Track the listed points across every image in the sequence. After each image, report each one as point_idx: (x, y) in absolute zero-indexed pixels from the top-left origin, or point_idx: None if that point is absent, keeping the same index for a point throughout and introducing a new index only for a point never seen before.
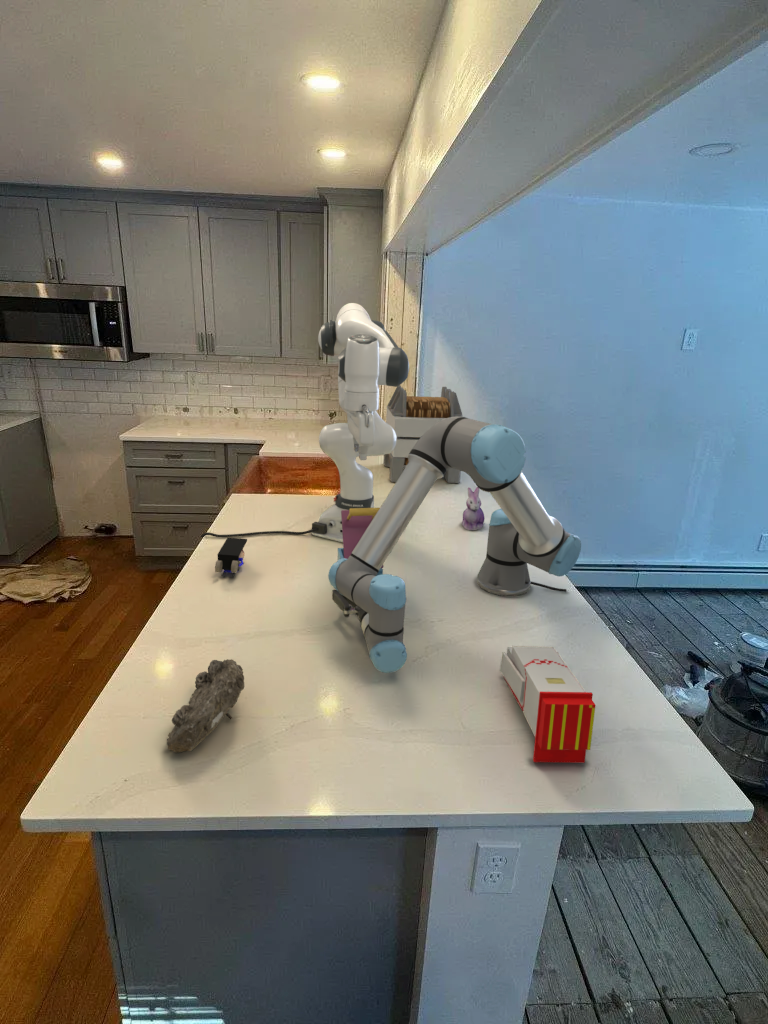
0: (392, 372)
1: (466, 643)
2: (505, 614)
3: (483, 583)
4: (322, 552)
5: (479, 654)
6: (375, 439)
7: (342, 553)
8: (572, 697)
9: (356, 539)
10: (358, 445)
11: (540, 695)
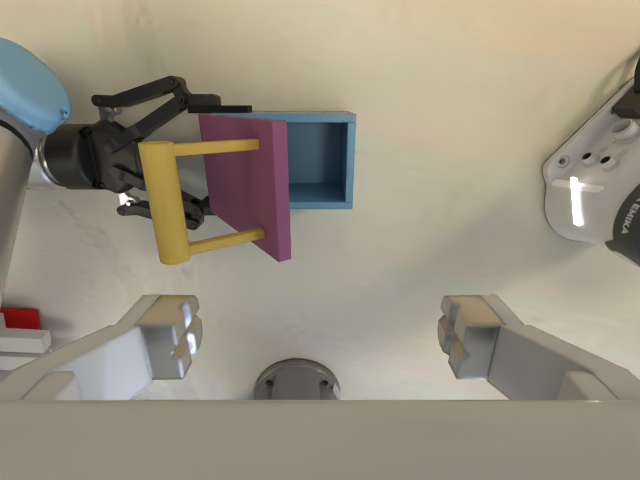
0: None
1: (119, 290)
2: (205, 364)
3: (283, 368)
4: (512, 94)
5: (91, 298)
6: None
7: (346, 126)
8: None
9: (229, 159)
10: (461, 357)
11: None
